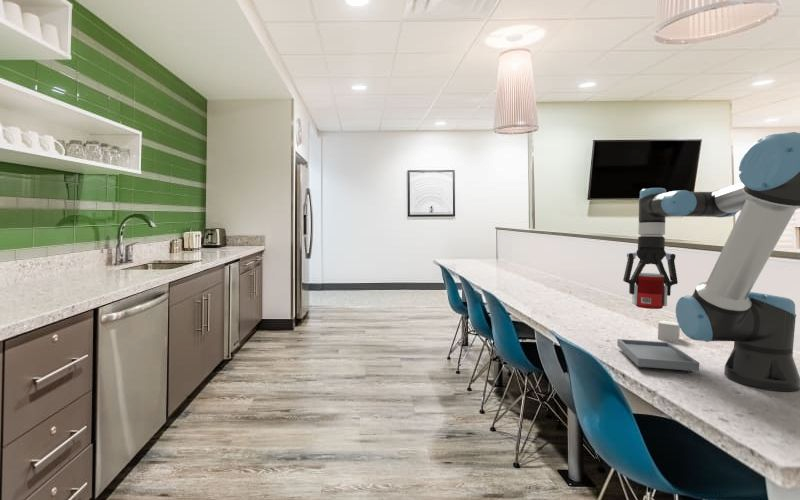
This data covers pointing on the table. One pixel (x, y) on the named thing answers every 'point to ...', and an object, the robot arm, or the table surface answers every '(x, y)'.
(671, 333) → the light grey cube
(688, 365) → the grey tray
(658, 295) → the canned food
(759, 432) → the table surface
